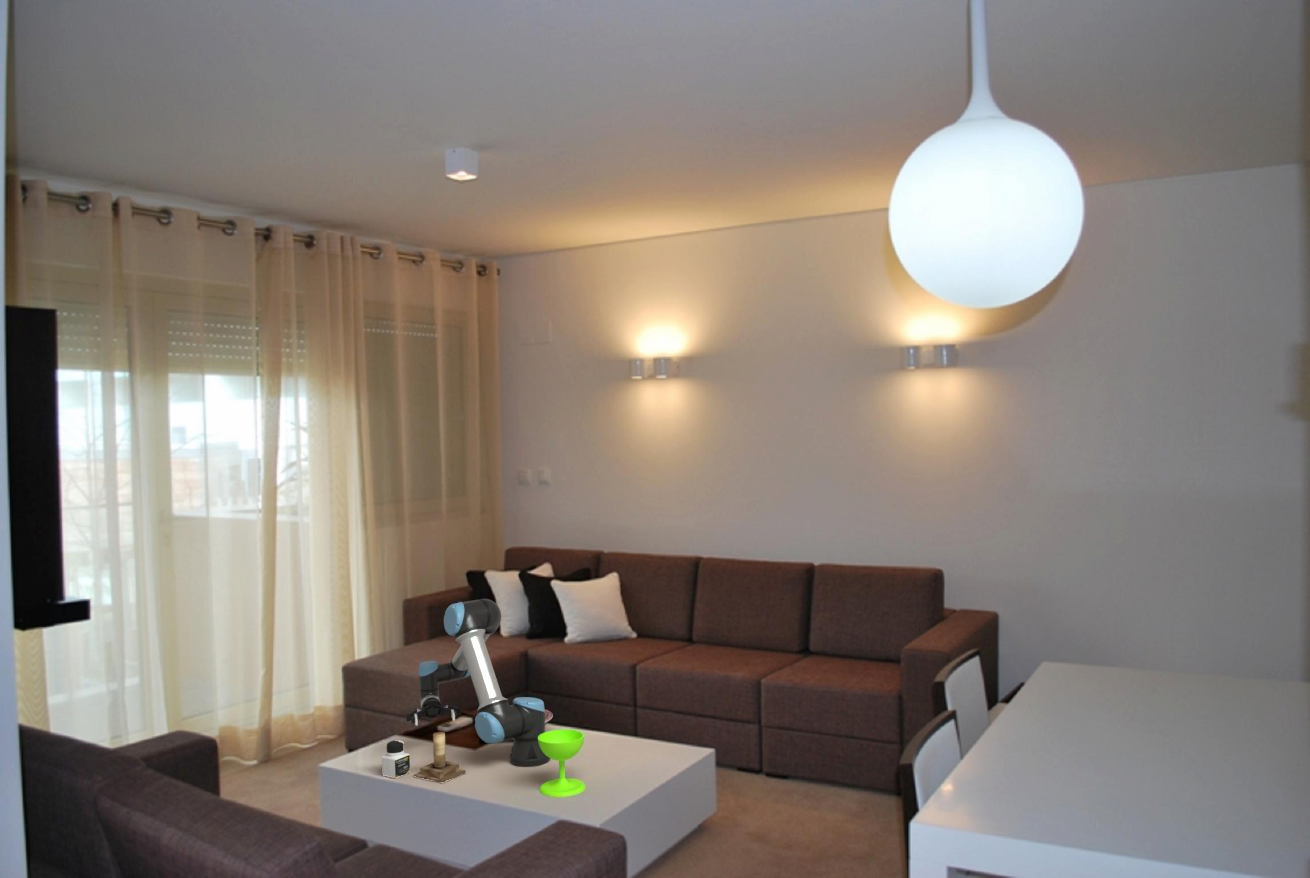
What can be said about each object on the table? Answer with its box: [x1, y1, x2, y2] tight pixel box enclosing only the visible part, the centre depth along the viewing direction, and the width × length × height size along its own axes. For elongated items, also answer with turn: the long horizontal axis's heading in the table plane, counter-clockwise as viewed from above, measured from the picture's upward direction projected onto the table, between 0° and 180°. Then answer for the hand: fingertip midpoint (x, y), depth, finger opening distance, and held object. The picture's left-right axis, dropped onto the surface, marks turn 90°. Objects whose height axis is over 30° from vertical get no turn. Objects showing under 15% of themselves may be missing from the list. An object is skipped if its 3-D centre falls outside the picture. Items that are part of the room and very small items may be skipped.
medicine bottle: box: [381, 739, 411, 779], centre depth 351 cm, size 7×7×12 cm
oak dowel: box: [432, 731, 447, 770], centre depth 349 cm, size 4×4×14 cm
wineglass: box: [538, 728, 587, 798], centre depth 332 cm, size 16×16×18 cm
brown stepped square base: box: [413, 760, 467, 783], centre depth 349 cm, size 14×12×3 cm
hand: (435, 719), depth 359 cm, fingers open, 13 cm apart
